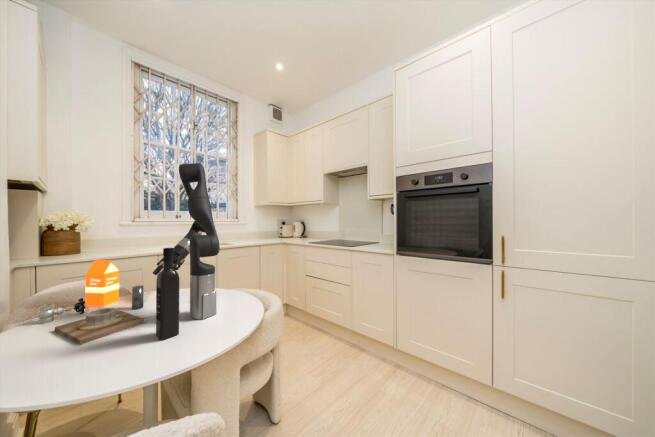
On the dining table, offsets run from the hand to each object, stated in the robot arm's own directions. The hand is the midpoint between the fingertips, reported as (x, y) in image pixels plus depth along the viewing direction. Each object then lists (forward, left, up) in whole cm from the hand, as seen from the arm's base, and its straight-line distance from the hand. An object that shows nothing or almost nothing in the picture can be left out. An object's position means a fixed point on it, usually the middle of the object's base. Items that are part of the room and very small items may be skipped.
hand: (159, 275), depth 114 cm
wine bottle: (-37, +18, -13) cm, 43 cm away
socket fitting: (-9, +25, -13) cm, 29 cm away
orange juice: (+21, +13, -13) cm, 28 cm away
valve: (+14, +28, -13) cm, 34 cm away
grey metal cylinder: (0, +9, -13) cm, 16 cm away
